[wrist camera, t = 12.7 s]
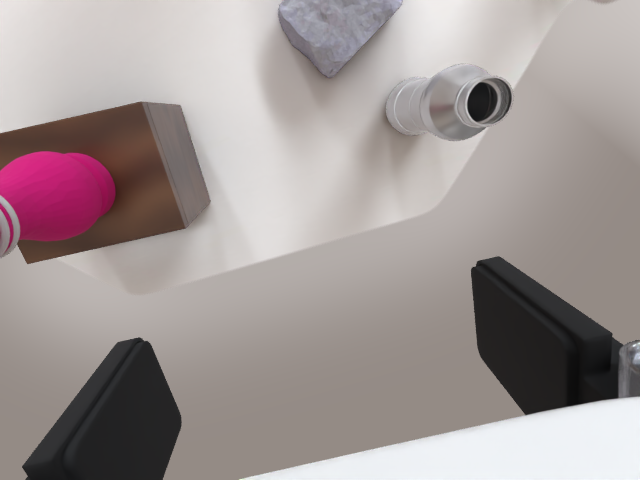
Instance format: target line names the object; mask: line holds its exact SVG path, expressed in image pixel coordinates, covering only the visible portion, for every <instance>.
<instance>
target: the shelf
mask: <svg viewBox="0 0 640 480" xmlns="http://www.w3.org/2000/svg"><path fill="white" fill-rule="evenodd" d="M40 151H50V152H57V153H61V154H66V153H80V154H84V155H87V156H90V157H92V158H94V159H96V160H97V161H99V162H100V163H101V164H102V165H103V166H104V167H105V168H106V169H107V170H108V172H109V173H110V175H111V177H112V179H113V181H114V184H115V200H114V203H113V205H112V207H111V208H110V209H109V211H108V212H107V213H105V214H104V215H102V216H101V217H99V218H98V219H97V220H96V222H95V223H94V224H93V225H92V226H91V227H90V228H89V229H88V230H86V231H85V232H84V233H81V234H79V235H77V236H74V237H71V238H68V239H65V240H57V241H36V240H26V239H22V240H18V243H17V245H18V247H19V249H20V251H21V253H22V255H23V257H24V259H25V261H26V262H27V264H30V263H34V262H39V261H43V260H48V259H52V258H57V257H61V256H65V255H70V254H74V253H79V252H83V251H88V250H92V249H96V248H101V247H105V246H110V245H114V244H119V243H123V242H127V241H132V240H136V239H141V238H145V237H150V236H154V235H159V234H163V233H167V232H172V231H176V230H181V229H185V228H186V227H187V226H188V225H189V224H190V223H191V222H192V221H193V220H194V219H195V218H196V216H197V215H198V214H199V213H200V212H201V211H202V210H203V209H204V208H205V207H206V206H207V205H208V204H209V203H210V198H209V195H208V191H207V188H206V185H205V182H204V179H203V176H202V172H201V169H200V166H199V163H198V160H197V157H196V153H195V150H194V147H193V144H192V141H191V138H190V134H189V131H188V128H187V125H186V122H185V119H184V115H183V112H182V109H181V106H180V105H174V104H163V103H151V102H137V103H133V104H128V105H124V106H120V107H115V108H111V109H106V110H102V111H97V112H93V113H88V114H84V115H80V116H75V117H71V118H66V119H62V120H57V121H53V122H49V123H44V124H40V125H35V126H31V127H26V128H22V129H18V130H13V131H9V132H4V133H0V171H1V170H2V169H3V168H4V167H5V166H6V165H8V164H9V163H11V162H12V161H13V160H15V159H16V158H19V157H22V156H24V155H27V154H31V153H34V152H40Z"/></svg>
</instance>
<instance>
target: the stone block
mask: <svg viewBox="0 0 640 480" xmlns="http://www.w3.org/2000/svg"><path fill="white" fill-rule="evenodd" d="M402 2H403V0H283V1H282V3H281V4H280V5H279V9H278V15H279V21H280V24H281V26H282V28H283V30H284V31H285V33H286V35H287V36H288V38H289V40H290V42H291V43H292V45H293V46H294V47H295V48H297V49H298V50H300V51H301V52H302V53H303V54H304V55H306V56H307V57H308V58H309V59H310V60H311V61H312V63H313V64H314V65H315V66H316V67H317V69H318V70H319V71H320V72H321V73H322V74H323V75H325V76H326V77H329V78H331V77H333V76H334V75H335V74H336V73H337V72H338V71H339V70H340V69H341V68H342V67H343V66H344V65H345V64H346V63H347V62H348V61H349V60H350V59H351V58H352V57H353V56H354V55H355V54H356V53H357V51H358V50H359V49H360V48H361V47H362V46H363V45H364V44H365V43H366V42H367V41H368V40H369V39H370V38H371V37H372V35H373V34H374V33H375V32H376V31H377V30H378V29H379V28H380V27H381V26H382V25H383V24H384V23H385V22H386V21H387V20H388V19H389V18H390V17H391V16H392V15H393V14H394V13H395V12H396V11H397V10H398V9H399V8H400V6H401V5H402Z"/></svg>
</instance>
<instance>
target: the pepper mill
mask: <svg viewBox="0 0 640 480" xmlns="http://www.w3.org/2000/svg"><path fill="white" fill-rule="evenodd" d="M114 200H115V184H114V181H113V179H112V177H111V175H110V173H109V172H108V170H107V169H106V168H105V167H104V166H103V165H102V164H101V163H100V162H99V161H97V160H96V159H94V158H92V157H90V156H87V155H84V154H80V153H66V154H61V153H57V152H50V151H40V152H34V153H31V154H27V155H24V156H22V157H19V158H16V159H15V160H13V161H12V162H11V163H9V164H8V165H6V166H5V167H4V168H3V169H2V170H1V171H0V258H2V257H4V256H6V255H8V254H9V253H10V252H11V251H12V250H13V249H14V248H15V246H16V245H17V243H18V240H22V239H26V240H36V241H57V240H65V239H68V238H71V237H74V236H77V235H79V234H81V233H84V232H85V231H86V230H88V229H89V228H90V227H91V226H92V225H93V224H94V223H95V222H96V220H97V219H98V218H99V217H101V216H102V215H104V214H105V213H107V212H108V211H109V209H110V208H111V207H112V205H113V203H114Z"/></svg>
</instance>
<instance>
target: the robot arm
mask: <svg viewBox="0 0 640 480" xmlns="http://www.w3.org/2000/svg"><path fill="white" fill-rule="evenodd" d="M471 277H472V289H473V300H474V312H475V323H476V334H477V346H478V350H479V353H480V356H481V358H482V359H483V361H484V362H485V363H486V365H487V366H488V367H489V369H490V370H491V371H492V372H493V374H494V375H495V376H496V378H497V379H498V380H499V381H500V383H501V384H502V385H503V387H504V388H505V389H506V390H507V392H508V393H509V394H510V396H511V397H512V398H513V399H514V401H515V402H516V403H517V405H518V406H519V407H520V408H521V410H522V411H523V412H524V413H525V416H520V417H515V418H511V419H506V420H502V421H497V422H493V423H488V424H484V425H479V426H475V427H470V428H466V429H461V430H457V431H452V432H448V433H443V434H438V435H434V436H430V437H425V438H420V439H416V440H411V441H407V442H403V443H398V444H394V445H389V446H385V447H381V448H376V449H372V450H367V451H363V452H358V453H354V454H349V455H345V456H341V457H336V458H332V459H328V460H323V461H318V462H314V463H310V464H305V465H301V466H297V467H292V468H288V469H283V470H279V471H274V472H270V473H265V474H261V475H257V476H252V477H248V478H243V479H239V480H640V340H635V341H632V342H629V343H627V344H625V345H623V344H621V343H619V342H618V341H617V340H615V339H614V338H613V337H612V333H611V332H610V331H608V330H607V329H605V328H604V327H602V326H601V325H599V324H598V323H596V322H595V321H593V320H592V319H591V318H589V317H588V316H586V315H585V314H583V313H582V312H580V311H579V310H577V309H576V308H574V307H573V306H571V305H570V304H569V303H567V302H565V301H564V300H562V299H561V298H560V297H558V296H557V295H555V294H554V293H552V292H551V291H549V290H548V289H546V288H545V287H543V286H542V285H540V284H539V283H538V282H536V281H535V280H533V279H532V278H530V277H529V276H527V275H526V274H525V273H523V272H521V271H520V270H519V269H517V268H516V267H514V266H513V265H511V264H510V263H508V262H507V261H505V260H504V259H503V258H501V257H494V258H489V259H485V260H480V261H478V262H477V264H476V267H473V268H472V269H471ZM180 429H181V415H180V412H179V410H178V407H177V405H176V402H175V400H174V398H173V396H172V393H171V391H170V388H169V386H168V384H167V381H166V379H165V376H164V374H163V372H162V369H161V367H160V365H159V362H158V360H157V358H156V355H155V353H154V351H153V348H152V346H151V344H150V343H149V342H148V341H144V340H142V339H141V338H134V339H130V340H126V341H121V342H118V343H117V344H116V345H115V346H114V348H113V349H112V350H111V351H110V353H109V354H108V355H107V356H106V358H105V359H104V360H103V362H102V363H101V364H100V366H99V367H98V368H97V369H96V371H95V372H94V373H93V375H92V376H91V377H90V379H89V380H88V381H87V383H86V384H85V385H84V387H83V388H82V389H81V390H80V392H79V393H78V394H77V396H76V397H75V398H74V400H73V401H72V402H71V403H70V405H69V406H68V407H67V409H66V410H65V411H64V413H63V414H62V415H61V417H60V418H59V419H58V420H57V422H56V423H55V424H54V426H53V427H52V428H51V430H50V431H49V432H48V434H47V435H46V436H45V437H44V439H43V440H42V441H41V443H40V444H39V445H38V447H37V448H36V450H34V452H33V453H32V454H31V456H30V457H29V458H28V460H27V461H26V462H25V464H24V465H23V466H22V468H23V469H24V471H25V472H26V474H27V475H28V477H27V478H26V480H163V477H164V474H165V471H166V468H167V465H168V463H169V460H170V457H171V454H172V451H173V449H174V446H175V443H176V440H177V437H178V434H179V431H180Z"/></svg>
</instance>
